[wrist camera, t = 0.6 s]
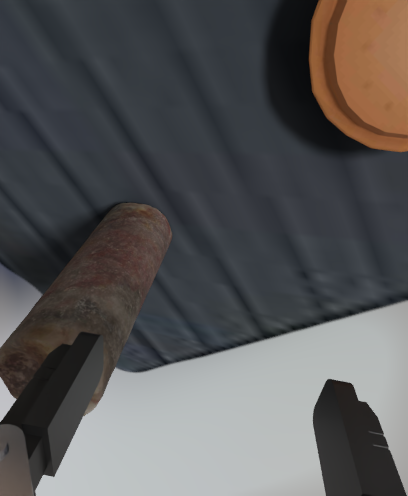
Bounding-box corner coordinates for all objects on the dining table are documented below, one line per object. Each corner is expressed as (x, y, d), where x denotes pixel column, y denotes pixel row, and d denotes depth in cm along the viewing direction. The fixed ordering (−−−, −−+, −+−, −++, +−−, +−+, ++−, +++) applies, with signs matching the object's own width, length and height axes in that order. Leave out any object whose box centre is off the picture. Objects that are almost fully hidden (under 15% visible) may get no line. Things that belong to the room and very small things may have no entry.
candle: (107, 248, 40) (1, 409, 23) (104, 191, 36) (-28, 339, 19) (171, 259, 40) (108, 430, 23) (175, 203, 35) (103, 363, 19)
